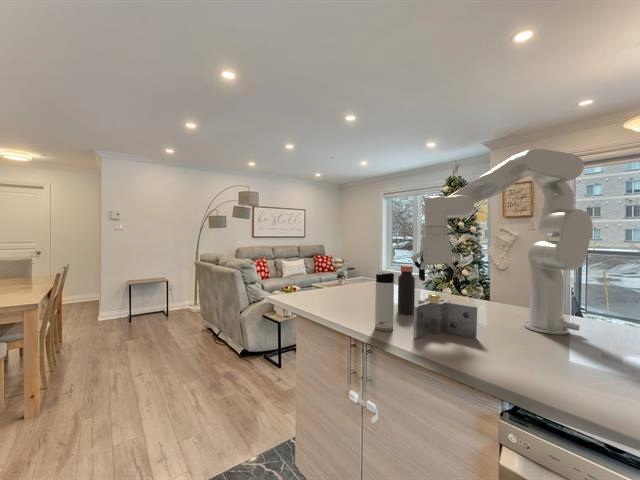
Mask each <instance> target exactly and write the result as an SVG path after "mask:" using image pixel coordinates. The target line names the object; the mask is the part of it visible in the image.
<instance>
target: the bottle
mask: <svg viewBox="0 0 640 480" xmlns="http://www.w3.org/2000/svg"><path fill="white" fill-rule="evenodd" d="M413 268H414V267H413V265H408V264H407V265H405V264H404V265H400V272H401V274H400V275H399V276H398V277H397V278H398V280H397V312H398V313H399V314H402V315H406V316H407V315H414V306H415V292H416V291H415V289H416V281H415V280H416V278H415V276H414V275H413V271H414V269H413Z"/></svg>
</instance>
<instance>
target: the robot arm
mask: <svg viewBox="0 0 640 480" xmlns="http://www.w3.org/2000/svg"><path fill="white" fill-rule="evenodd" d="M584 169H585V163H584V161H583V160H582V158H581V157H579V156H578V155H576V154H574V153H571V152H570V153H569V152H566V151H564V152H563V151H558V150H552V149H545V148H530V149H528V150H525V151H522V152H520V153H517V154H515V155H512V156H511V157H509V158H508V159H506V160H504V161H503V162H501V163H500V164H498V165H497V166H495V167H493V168H492V169H491V170H488V172H485V173H484V174H482V175H481V176H479V177H477V178H476V179H475V180H472V181H471V182H470V183H468V184H466V185H464V186H462V187H461V188H459V189H458V190H456V191H454V192H453V193H451V194H450V195H449V196H442V195H434V196H428V197H426V198H425V199H424V235H422V236H421V240H420V249H419V252H418V253H416V254H413V255H412V256H411V257H410V259H411V260H412V263H413V265H414V266H415V267H416V268H417V269H418V279H419V280H420V281H421V282H424V281H426V270H425V267H426V266H427V265H446V267H447V269H446V280H448V281H453V278H454V277H455V276H454V275H455V273H454V272H455V271H454V270H455V269H456V267H457V266H458V265H460V264H459V263H460V261H461V260H462V256H461V255H459V254H457V253H456V252H453V250H452V249H453V248H452V242H451V238H450V235H448V234H449V233H452V228H449V226H448V225H449V224H448V219H453V218H454V219H455V218H463V217H466V216H468V215H470V214H471V213H472V212H473V210H474V208H475V204H477V203H479V202H482V201H485V200H488V199H491V198H494V197H496V196H498V195H500V194H502V192H505V191H506V190H507V189H509V188H510V187H512V186H513V185H515V184H516V183H518V182H520V181H521V180H523V179H526V177H531V179H532V180H533V181H534V183H535V184H536V185H537V186H538V187H539V188H540V190H541V192H542V194H543V205H542V209H541V213H540V219H539V222H538V223H539V224H538V231H539V232H540V234H541V235H542V236H544V237H547V238H558V240H539V241H536V242H535V243H533V244H532V245H531V246H530V247H529V249H528V253H527V257H528V265H529V271H530V288H529V292H530V293H529V294H530V295H529V320H528V321H525V322H523V323H524V325H523V326H524V328H527V329H528V330H531V331H533V332H537V333H541V334H548V335H557V336H558V335H566V334H569V330H573V331H578V332H579V331H580V327H581V326H580V324H577V323H575V322H574V323H573V322H568V321H566V318H565V317H564V295H565V294H564V292H565V291H564V288H565V280H564V275H563V273H562V271H576V270H577V269H579V268H581V267H582V266H583V265H584V263H585V261H586V258H587V255H588V251H589V246H590V243H591V239H592V238H591V237H592V232H593V220H592V218H591V215H590V214H589V213H588V212H586V211H585V210H583V209H581V208H580V209H579V208H574V203H575V193H574V191H573V189H572V187H571V186H570V185H569V183H568V182H569V181H572V180H575V179H577V178H579V176H581V175H582V173H583V172H584ZM453 258H454V260H453ZM418 259H419V262H418Z"/></svg>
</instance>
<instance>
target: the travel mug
mask: <svg viewBox="0 0 640 480" xmlns="http://www.w3.org/2000/svg"><path fill="white" fill-rule="evenodd" d="M394 293H395V274H394V273H393V272H391V273H389V272H388V273H381V274H379V273H376V274H375V309H374V310H375V311H374V313H375V315H374V316H375V317H374V326H375V327H374V328H375V330H377V331H379V332H384V333H385V332H392V331H393V330H394V309H395V308H394V304H395V303H394V302H395V301H394V299H395V298H394V297H395V294H394Z"/></svg>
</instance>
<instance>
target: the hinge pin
mask: <svg viewBox="0 0 640 480" xmlns="http://www.w3.org/2000/svg"><path fill="white" fill-rule="evenodd" d="M427 297H428V301H431V302H437V303H440V299H441V295H440V294H436V293H435V294H434V293H429V294H428V295H427Z"/></svg>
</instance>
